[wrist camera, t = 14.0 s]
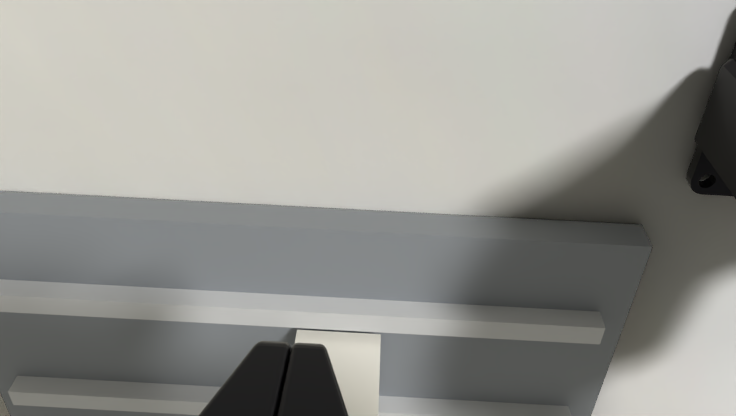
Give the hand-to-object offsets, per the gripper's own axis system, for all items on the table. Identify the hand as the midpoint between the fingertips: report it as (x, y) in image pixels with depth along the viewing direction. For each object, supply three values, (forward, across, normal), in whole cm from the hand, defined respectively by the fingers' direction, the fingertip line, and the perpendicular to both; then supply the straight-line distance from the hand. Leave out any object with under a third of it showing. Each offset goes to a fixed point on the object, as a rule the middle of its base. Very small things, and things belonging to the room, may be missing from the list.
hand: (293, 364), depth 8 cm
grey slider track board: (+13, +2, +17) cm, 21 cm away
